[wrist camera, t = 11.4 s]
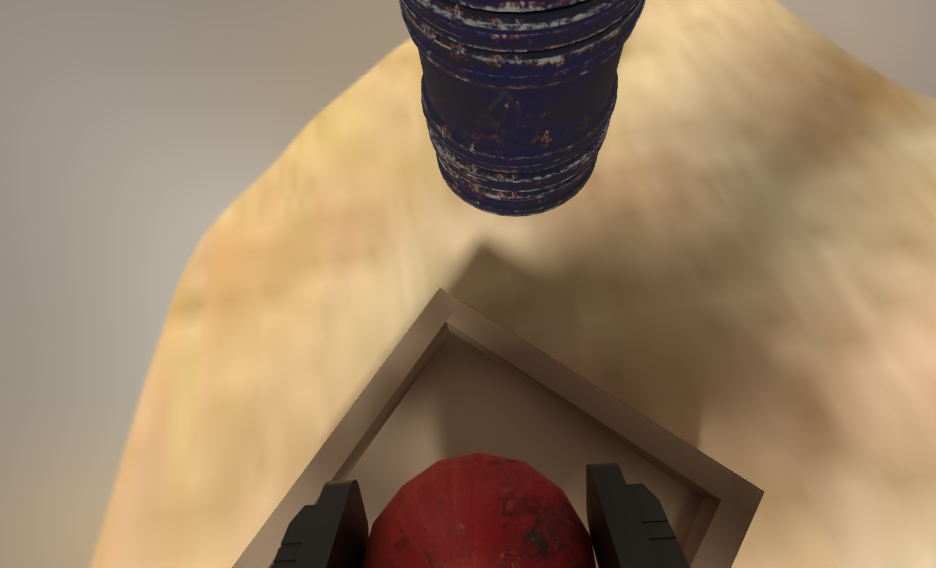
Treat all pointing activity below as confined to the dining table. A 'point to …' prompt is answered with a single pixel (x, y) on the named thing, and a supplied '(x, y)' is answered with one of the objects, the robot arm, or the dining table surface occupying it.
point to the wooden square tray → (510, 435)
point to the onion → (479, 520)
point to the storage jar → (518, 93)
